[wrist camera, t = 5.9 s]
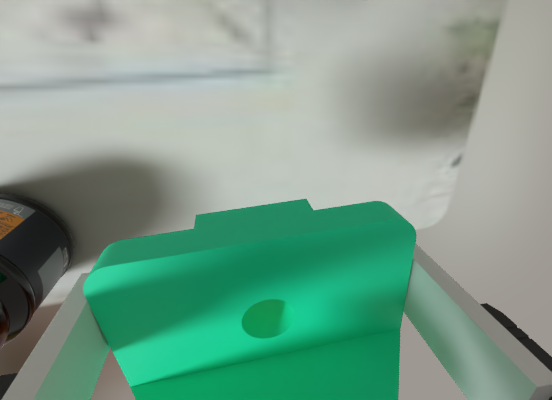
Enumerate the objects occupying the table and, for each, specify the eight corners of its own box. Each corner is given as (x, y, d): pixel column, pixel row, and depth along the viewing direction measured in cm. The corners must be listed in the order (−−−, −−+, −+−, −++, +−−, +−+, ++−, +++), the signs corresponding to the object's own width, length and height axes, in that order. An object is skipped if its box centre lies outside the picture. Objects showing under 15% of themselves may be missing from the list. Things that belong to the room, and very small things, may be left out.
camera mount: (384, 187, 13) (771, 490, 4) (371, 309, 16) (560, 620, 7) (102, 228, 12) (-338, 871, 2) (152, 353, 15) (50, 812, 6)
